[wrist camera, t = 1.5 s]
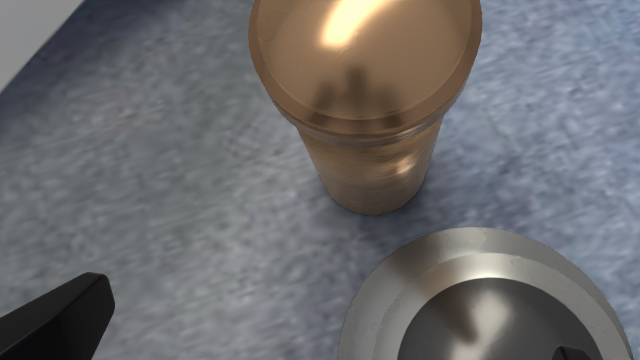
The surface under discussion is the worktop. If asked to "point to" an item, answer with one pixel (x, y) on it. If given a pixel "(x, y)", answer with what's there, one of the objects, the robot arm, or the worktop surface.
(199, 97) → the worktop surface
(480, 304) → the ring
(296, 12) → the copper capped cylinder
